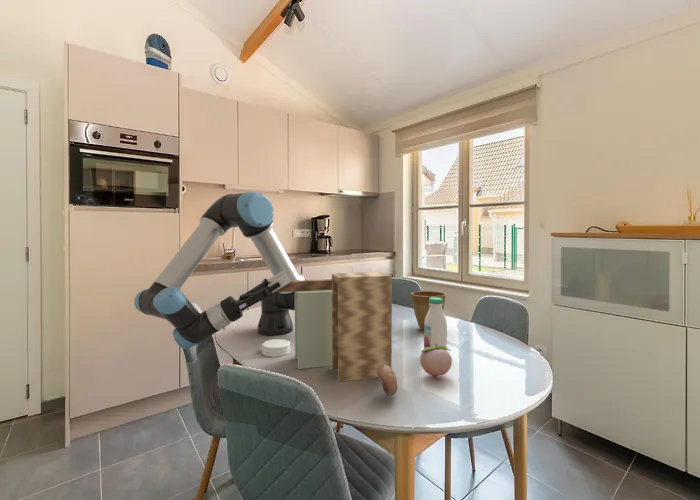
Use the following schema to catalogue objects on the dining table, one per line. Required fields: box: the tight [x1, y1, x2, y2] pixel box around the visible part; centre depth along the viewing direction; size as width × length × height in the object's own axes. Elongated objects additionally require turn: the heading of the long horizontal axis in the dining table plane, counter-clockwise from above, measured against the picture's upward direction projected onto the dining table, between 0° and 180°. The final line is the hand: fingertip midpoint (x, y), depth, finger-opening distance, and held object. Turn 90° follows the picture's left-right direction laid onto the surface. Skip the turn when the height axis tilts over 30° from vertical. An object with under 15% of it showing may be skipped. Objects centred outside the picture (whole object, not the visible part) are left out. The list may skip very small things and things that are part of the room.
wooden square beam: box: [269, 278, 332, 292], centre depth 112 cm, size 24×3×3 cm, turn 104°
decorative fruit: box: [419, 344, 453, 378], centre depth 101 cm, size 9×8×10 cm
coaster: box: [261, 338, 291, 358], centre depth 123 cm, size 10×10×4 cm
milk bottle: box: [423, 297, 448, 349], centre depth 119 cm, size 8×8×20 cm
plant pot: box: [410, 290, 447, 332], centre depth 151 cm, size 15×15×16 cm
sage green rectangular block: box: [294, 290, 332, 370], centre depth 113 cm, size 12×10×24 cm
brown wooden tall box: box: [331, 271, 393, 382], centre depth 104 cm, size 16×10×30 cm, turn 104°
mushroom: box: [377, 365, 398, 396], centre depth 89 cm, size 8×6×8 cm
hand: (287, 275), depth 110 cm, fingers open, 11 cm apart
